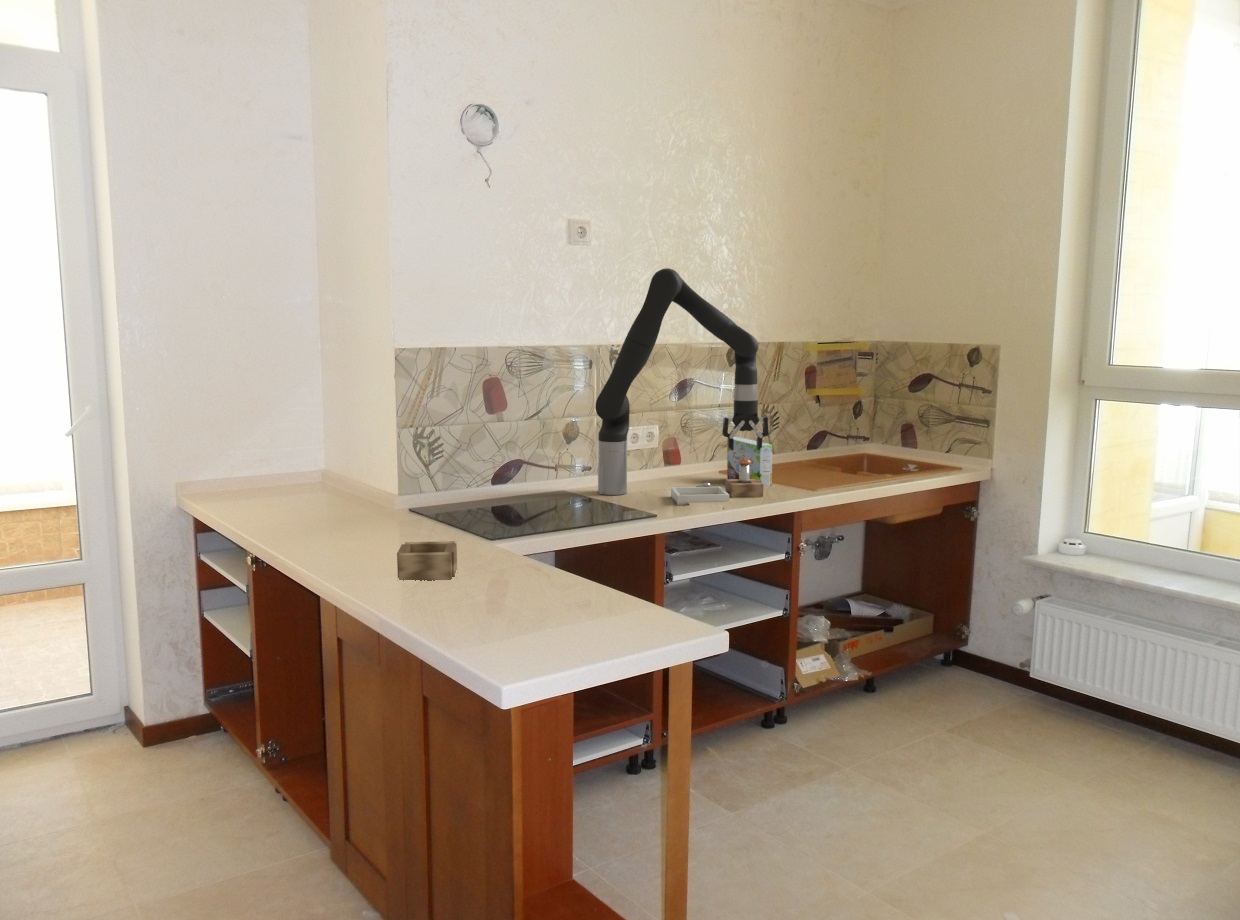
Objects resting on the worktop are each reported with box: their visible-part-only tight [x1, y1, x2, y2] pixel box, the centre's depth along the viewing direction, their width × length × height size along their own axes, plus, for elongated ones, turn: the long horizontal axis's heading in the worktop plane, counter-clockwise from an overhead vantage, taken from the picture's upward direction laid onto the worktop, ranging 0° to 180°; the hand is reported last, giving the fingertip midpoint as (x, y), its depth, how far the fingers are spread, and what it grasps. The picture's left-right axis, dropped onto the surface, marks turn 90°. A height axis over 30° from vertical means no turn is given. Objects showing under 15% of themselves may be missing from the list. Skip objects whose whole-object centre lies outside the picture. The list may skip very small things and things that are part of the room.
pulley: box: [695, 482, 718, 487], centre depth 310 cm, size 7×7×4 cm
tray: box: [670, 486, 730, 506], centre depth 300 cm, size 16×14×3 cm
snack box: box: [726, 436, 773, 487], centre depth 329 cm, size 21×6×15 cm, turn 25°
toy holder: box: [396, 540, 458, 581], centre depth 210 cm, size 12×12×7 cm
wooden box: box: [724, 478, 764, 499], centre depth 305 cm, size 10×10×5 cm
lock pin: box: [738, 459, 751, 483], centre depth 305 cm, size 4×4×11 cm
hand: (745, 449), depth 303 cm, fingers open, 8 cm apart
